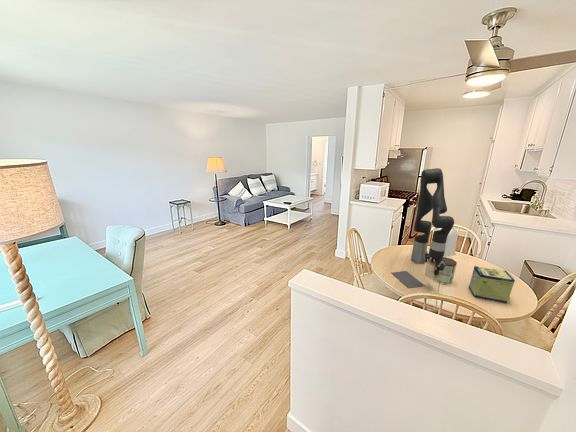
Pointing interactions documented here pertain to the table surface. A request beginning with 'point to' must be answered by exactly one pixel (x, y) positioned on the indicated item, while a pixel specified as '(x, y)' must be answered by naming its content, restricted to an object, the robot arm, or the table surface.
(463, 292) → the table surface
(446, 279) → the coffee can
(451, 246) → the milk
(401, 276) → the mat
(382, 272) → the table surface
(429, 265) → the block
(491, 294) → the protein box
